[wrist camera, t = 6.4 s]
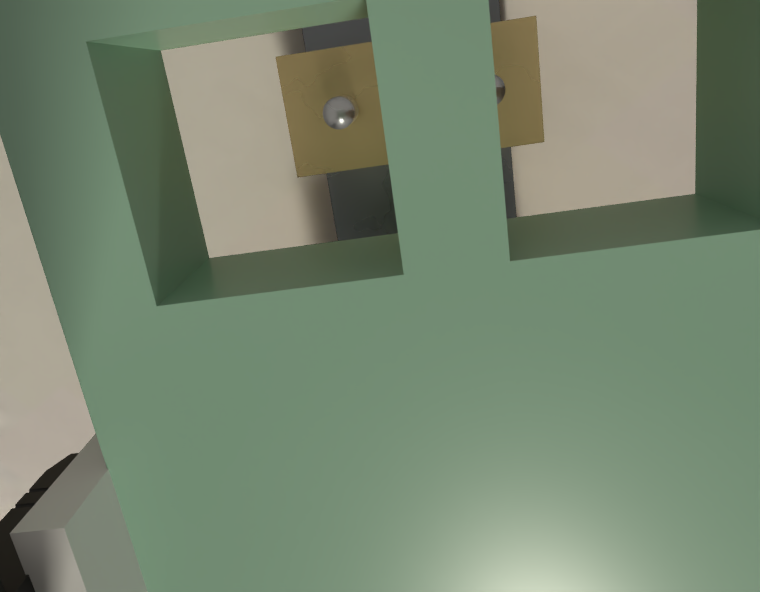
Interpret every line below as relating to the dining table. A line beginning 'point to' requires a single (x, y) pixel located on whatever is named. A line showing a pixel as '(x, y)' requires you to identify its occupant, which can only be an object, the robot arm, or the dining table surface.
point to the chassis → (364, 118)
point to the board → (399, 326)
